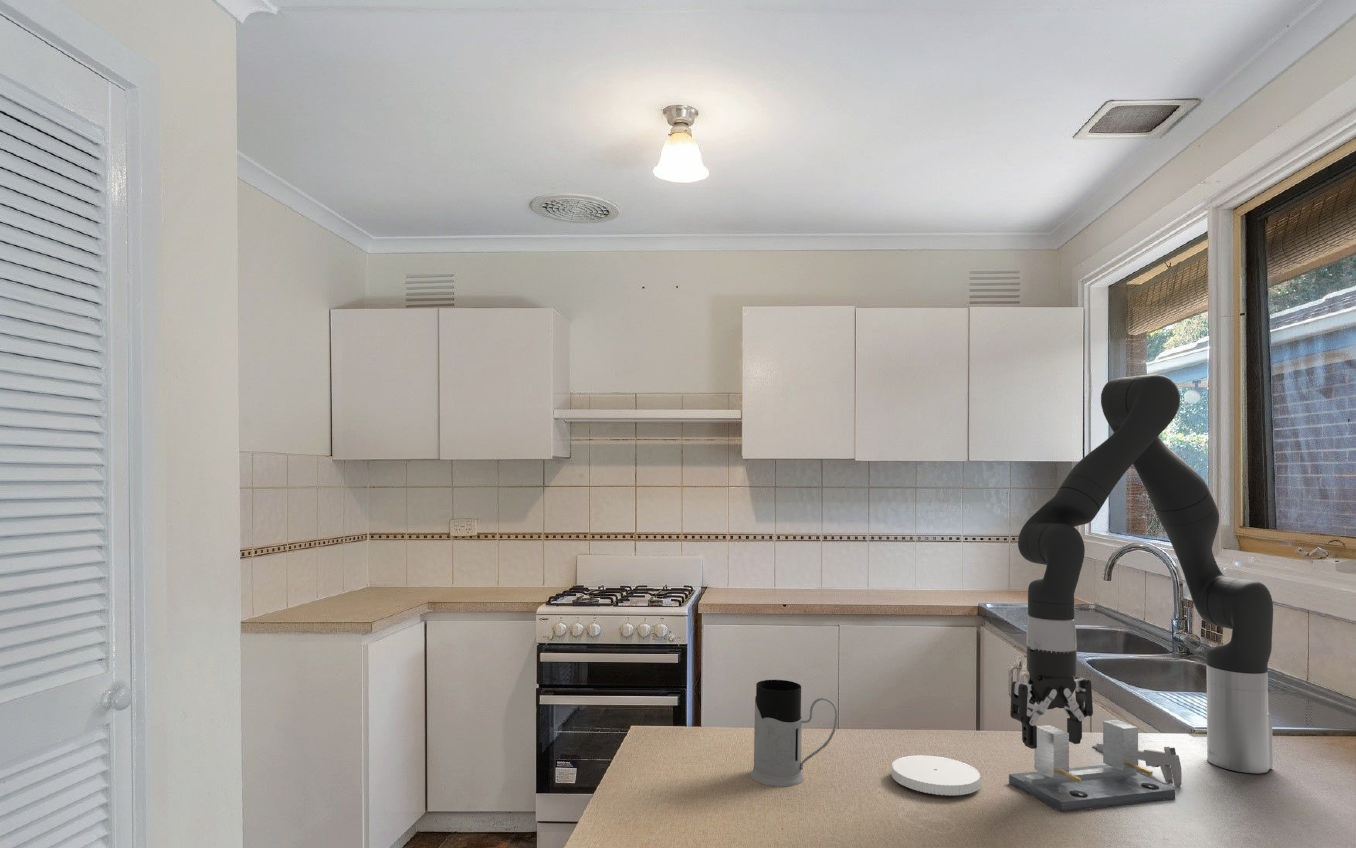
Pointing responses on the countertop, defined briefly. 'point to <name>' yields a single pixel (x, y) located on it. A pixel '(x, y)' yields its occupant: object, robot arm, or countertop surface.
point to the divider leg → (1053, 753)
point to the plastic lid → (936, 775)
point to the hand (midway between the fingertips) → (1052, 745)
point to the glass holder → (780, 733)
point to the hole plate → (1092, 788)
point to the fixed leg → (1121, 746)
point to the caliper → (1160, 762)
